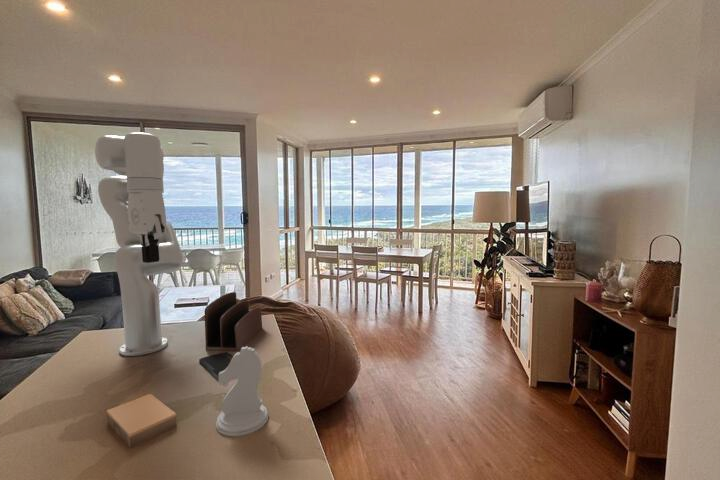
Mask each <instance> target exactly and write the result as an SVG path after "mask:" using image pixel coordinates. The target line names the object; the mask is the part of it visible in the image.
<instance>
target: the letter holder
mask: <svg viewBox="0 0 720 480" xmlns="http://www.w3.org/2000/svg"><path fill="white" fill-rule="evenodd" d="M249 304H250V303H249V300H247V299H246V300H242V301H240V302H237V293H236V292H235V291H232V292H228V293H225V294H223V295H221V296H220V297H218V298H216V299H215V300H213V301H212V302H210V303H209V304H208V305H207V306H206V307H205V308H204V330H205V332H204V334H205V335H204V336H205V351H215V352H216V351H217V352H218V351H220V352H221V351H222V352H239V350H241V348H242V347H244V346H245V345H246V344H247V343H248V342H249V341H250V340H251V339H252V338H254V337H255V335H257V334H258V333H259V332H260V331H261V330H262V329H263V319H262V317H263V316H262V309H261V307H260V306H258V307H255V308H253V309H251V310H250V309H249V308H250V307H249Z"/></svg>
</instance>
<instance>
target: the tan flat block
mask: <svg viewBox="0 0 720 480" xmlns="http://www.w3.org/2000/svg"><path fill="white" fill-rule="evenodd" d="M106 416H107V417H106V418H107V420H106V421H107V424H108V425H109V426H110V427H111V428H112V429H113V431H114V432H115V433H116V434H117V435H118V436H119V437H120V439H122V440H123V442H125V443H126V444H127V446H128V447H129V448H134V447H136V446H138V445H139V444H142V443H144V442H146V441H148V440H151V439H152V438H155V437H156V436H159V435H161V434H163V433H165V432H167V431H169V430H171V429H173V428H176V427H177V425H178V422H177V413H176V412H175V411H173V410H172V409H171V408H170V407H168V406H166V404H165V403H163V402H162V401H161V400H159V399H158V398H157V397H155V396H154V395H153V394H151V393H149V394H146V395H143V396H141V397H138V398H136V399H133V400H130V401H128V402H124V403H121V404H120V405H117V406H114V407H112V408H109V409H107V410H106Z"/></svg>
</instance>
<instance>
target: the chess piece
mask: <svg viewBox="0 0 720 480" xmlns="http://www.w3.org/2000/svg"><path fill="white" fill-rule="evenodd" d="M232 356H233V358H232V360H231V362H230V364H229V365H228V367H227V368H226V369H225V370H224V371H222V372H219V378H218V380H217V381H218V384H219V385H222V386H223V387H224V388H225V387H227V386H228V385H229V383H230V382H231V381H235V380H237V381H236V382H235V383H234V385H233V386H232V387H231V388H230V390H229V391H228V392H227V394H226V395H225V396H224V398H223V400H222V403H221V412H220V413H219V415H218V416H217V418H216V422H215V426H216V430H217V431H218V433H220V434H221V435H224V436H227V437H242V436H247V435H249V434H252V433H255V432H256V431H259V430H260V429H261V428H263V426H264V425H265V424H266V423H267V422H268V420H269V412H268V409H267V407H266V406H264V405H263V399H262V398H261V397H260V396H259V391H258V390H259V389H258V388H259V383H260V380H261V377H262V374H263V370H262V369H263V367H262V360H261V357H260V354H259V353H258V351H256V349H255V347H253V348H252V347H251V346H250V347H249V346H248V345H246V346H242V347H241V348H240V351H237V352H236V353H235V354H234V355H232Z"/></svg>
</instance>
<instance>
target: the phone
mask: <svg viewBox="0 0 720 480" xmlns="http://www.w3.org/2000/svg"><path fill="white" fill-rule="evenodd" d="M233 356H234V355H232V354H231V353H229V351H222V352H218V353H216V354H211V355H208V356H204V357H201V358H199V360H198V362H199V363H198V364H200V365H201V366H202V367H203V368H204V369H205V370H206V371H207V372H208V373H209V374H210V375H211V376H212V377H213V378H214V379H216V380H217V381H219V380H218V378H219V372H222V371H224V370H225V369H226V368H227V367H228V365H229V364H230V362H231V360H232V358H233Z"/></svg>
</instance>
